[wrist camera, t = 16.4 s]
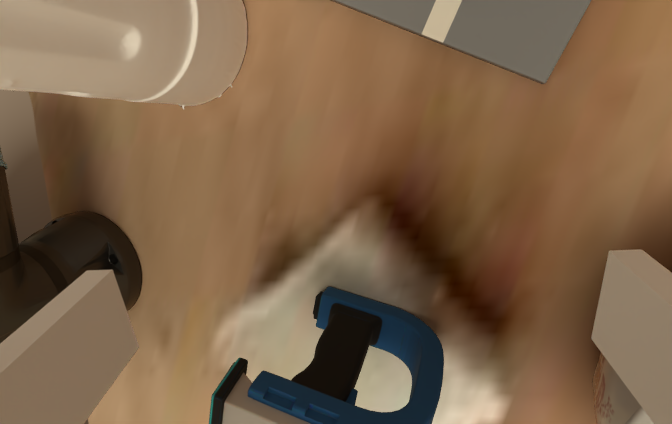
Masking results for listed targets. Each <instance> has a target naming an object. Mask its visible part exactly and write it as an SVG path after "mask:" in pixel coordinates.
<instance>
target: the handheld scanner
mask: <svg viewBox="0 0 672 424" xmlns="http://www.w3.org/2000/svg"><path fill="white" fill-rule="evenodd" d="M313 314H314V319H317V323H316V327H318V328H321V329H324V332H323V333H322V335H321V337H320V339H319V341H318V343H317V346H316V350H315V356H314V359H313V361H312V362H311V364H310V365H309V366H308V367H307V368H306V369H305V370H304V371H302V372H301V373H299V374H297V375H296V376H295V377H294V378H293V379H292V380H291V381H290V380H288V379H285V378H283V377H280V376H277V375H275V374H272V373H269V372H266V371H262V372H261V373H260V374H259V375H258V377H257V378H256V379H255V380H254V382H253V383H252V382H251V381H250V380H249V378H248V377H247V376H246V372H247V364H248V361H247V360H246V359H243V358H238V360H237V361H236V362H234V363H233V365H232V366H231V368H230V369H229V371H228V372H227V374H226V375H225V377H224V378H223V380H222V381H221V382H220V384H219V385H218V387H217V388H216V390H215V391H214V393H213V394H212V398H211V408H210V418H209V424H432V420H433V417H434V414H435V411H436V408H437V404H438V401H439V398H440V392H441V387H442V380H443V366H444V356H443V349H442V345H441V342H440V341H439V339H438V337H437V335H436V334H435V333H434V332H433V330H432V329H431V328H430V327H429V326H427V325H426V324H425V323H424V322H423V321H421V320H420V319H418V318H417V317H415V316H414V315H412V314H410V313H408V312H406V311H404V310H402V309H399V308H397V307H394V306H390V305H387V304H384V303H381V302H378V301H374V300H371V299H368V298H365V297H362V296H358V295H355V294H352V293H349V292H346V291H342V290H339V289H336V288H333V287H327V289H326V290H325V291H324V292H322V291H321V292H320V293H319V294H318V295H317V296H316V300H315V305H314V311H313ZM369 345H370V346H373V347H376V348H379V349H382V350H385V351H387V352H390V353H392V354H394V355H395V356H397V357H398V358H400V359H401V360H402V361H403V362H404V363H405V364H406V365H407V366H408V368H409V370H410V372H411V375H412V389H411V395H410V400H409V403H408V404H407V405H406V406H405V407H403V408H402V409H400V410H398V411H394V412H382V413H381V412H375V411H370V410H366V409H363V408H360V407H357V406H355V401H356V397H357V393H358V391H357V390H355V389H354V387H355V385H356V382H357V379H358V377H359V374H360V371H361V368H362V365H363V362H364V359H365V356H366V353H367V350H368V347H369Z"/></svg>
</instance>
